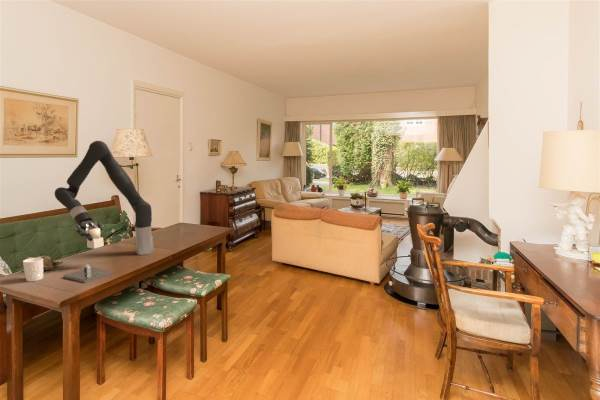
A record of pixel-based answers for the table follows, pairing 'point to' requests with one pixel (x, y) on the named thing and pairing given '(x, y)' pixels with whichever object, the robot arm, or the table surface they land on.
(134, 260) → the table surface
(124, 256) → the table surface
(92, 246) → the knob
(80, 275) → the grey base with post
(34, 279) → the white cup
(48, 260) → the ceramic sculpture
